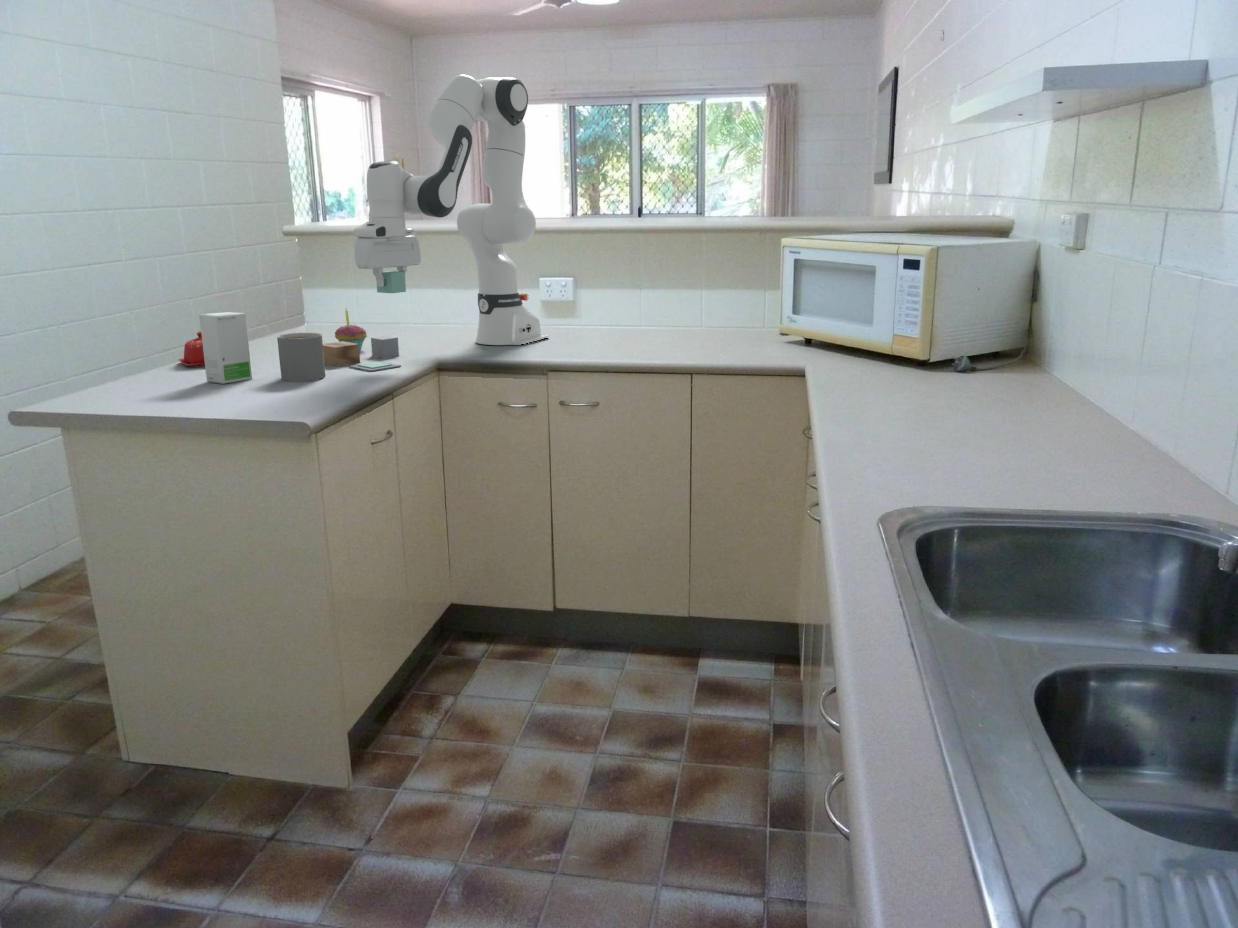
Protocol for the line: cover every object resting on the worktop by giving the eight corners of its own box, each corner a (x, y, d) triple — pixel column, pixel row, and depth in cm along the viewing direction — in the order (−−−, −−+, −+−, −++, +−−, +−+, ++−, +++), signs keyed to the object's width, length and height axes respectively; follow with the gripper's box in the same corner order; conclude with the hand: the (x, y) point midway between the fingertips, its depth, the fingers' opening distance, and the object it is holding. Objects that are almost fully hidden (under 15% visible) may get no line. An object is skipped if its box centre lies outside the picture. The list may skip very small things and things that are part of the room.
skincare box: (222, 384, 213) (214, 316, 209) (204, 381, 217) (196, 314, 212) (254, 378, 220) (246, 312, 216) (236, 376, 223) (228, 310, 219)
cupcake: (362, 353, 254) (359, 309, 251) (331, 353, 255) (327, 309, 251) (371, 348, 263) (368, 305, 259) (341, 348, 263) (337, 305, 259)
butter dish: (177, 363, 241) (172, 330, 239) (224, 359, 247) (220, 327, 245) (186, 370, 232) (181, 336, 230) (234, 365, 238) (231, 332, 236)
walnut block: (344, 360, 245) (342, 341, 244) (360, 363, 241) (358, 344, 239) (320, 364, 240) (319, 344, 239) (336, 367, 236) (335, 347, 234)
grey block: (387, 354, 254) (386, 335, 253) (399, 356, 251) (397, 337, 250) (372, 356, 250) (370, 337, 249) (383, 358, 247) (382, 339, 246)
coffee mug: (323, 381, 218) (319, 338, 215) (278, 382, 216) (274, 339, 213) (328, 370, 230) (325, 330, 227) (286, 372, 228) (282, 331, 226)
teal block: (391, 290, 240) (389, 271, 239) (405, 291, 238) (404, 271, 236) (377, 292, 236) (375, 272, 235) (392, 293, 234) (390, 273, 232)
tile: (379, 362, 240) (379, 360, 240) (401, 366, 235) (400, 364, 235) (349, 367, 234) (349, 364, 234) (370, 372, 228) (370, 369, 228)
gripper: (406, 228, 243) (409, 282, 247) (348, 230, 226) (352, 288, 229) (425, 228, 240) (427, 283, 244) (368, 230, 223) (371, 289, 227)
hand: (390, 285), depth 236 cm, fingers closed on teal block, 5 cm apart
